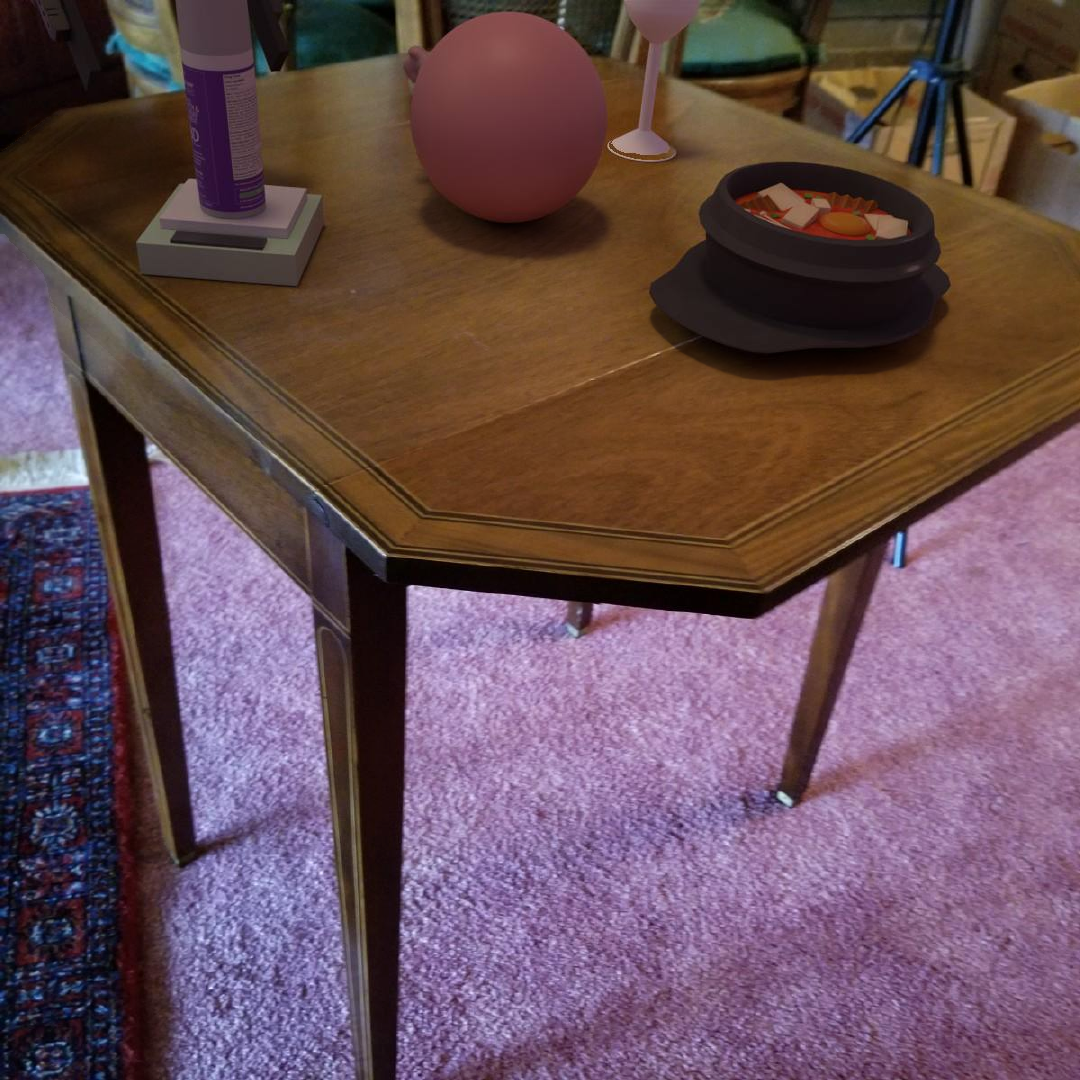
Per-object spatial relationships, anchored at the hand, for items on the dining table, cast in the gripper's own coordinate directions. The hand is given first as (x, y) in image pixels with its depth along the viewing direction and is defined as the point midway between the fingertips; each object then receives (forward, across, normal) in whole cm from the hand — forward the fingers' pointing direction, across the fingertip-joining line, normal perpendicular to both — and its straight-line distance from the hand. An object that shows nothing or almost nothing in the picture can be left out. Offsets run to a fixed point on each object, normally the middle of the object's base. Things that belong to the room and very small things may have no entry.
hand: (191, 72), depth 77 cm
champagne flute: (+9, +43, +8) cm, 45 cm away
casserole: (+31, +32, -15) cm, 47 cm away
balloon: (+12, +22, +4) cm, 25 cm away
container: (+9, 0, +2) cm, 10 cm away
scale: (+11, 0, +4) cm, 12 cm away
